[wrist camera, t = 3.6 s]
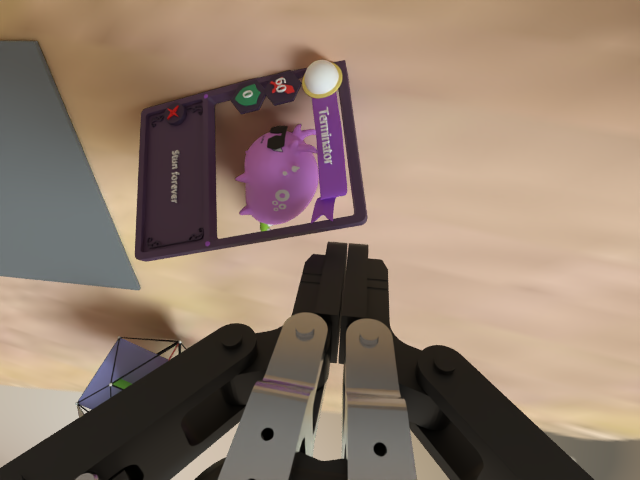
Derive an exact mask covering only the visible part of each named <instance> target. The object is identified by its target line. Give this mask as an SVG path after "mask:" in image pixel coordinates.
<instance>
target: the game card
mask: <svg viewBox="0 0 640 480" xmlns="http://www.w3.org/2000/svg"><path fill="white" fill-rule="evenodd" d="M301 77H303V79H302V83H301V81H300V80H299V78H301ZM301 84H302V87H303V90H304V92H305V93H306V94H307V95H308V96H310V97H312V104H313V113H314V121H315V129H316V130H314V129H309V130H303V131H302V130H301V124H299V125H297V126H296V127H295V129H294V131H293V132H292V133H291V132H288V131H287V128H288V127H287V126H276V127H272V128H271V130H270V132H268V133H266V134H264V135H262V136H261V137H259V138H258V139H257V140H256V141H255V142H254V143H253V144H252V145H251V146H250V148H249V149H248V150H247V151H245V153H246V157H245V173H243V174H242V175H240V176H238V177H236V178H235V180H236V181H240V182H244V183H246V204H247V205H246V206H245V207H244V208H243V209H242V210H241V211H240V212H239V214H240V215H252V216H253V217H254V218H255V219H256V220H258V221H259V222H260V230H261V232H256V233H251V234H245V235H239V236H233V237H228V238H222V239H218V238H217V210H216V157H215V105H216V104H217V103H221V102H225V101H229V100H231V102H232V103H233V105H234V106H235V107H236V109H237V110H238V111H239V112H240V114H245V113H249V112H253V111H256V110H259V109H260V107H261V105H262V103H263V101H264V99H265V97H266V96H267V97H268V99H269V100H270V101H271V102H272V103H273V105H274V106H276V105H280V104H284V103H288V102H292V101H294V99H295V97H296V95H297V93H298V91H299V89H300V86H301ZM337 89H339V97H340V105H341V113H342V120H343V128H344V136H345V144H346V152H347V159H348V167H349V175H350V183H351V191H352V199H353V206H354V215H352V216H347V217H341V218H336V219H333V210H334V202H335V199H336V197H338V196H344V195H346V193H347V181H346V171H345V159H344V149H343V137H342V128H341V121H340V115H339V109H338V103H337V95H336V91H337ZM309 135H316V138H317V150H316V149H315V148H314V147H313V146H312V145H308V144H306V143H305V142H304V140H303V139H304V138H305V137H307V136H309ZM312 152H313V153H317V154H318V167H317V163H316V160H315V158H314V155H313V154H312ZM318 169H319V173H318ZM318 179H319V183H320V193H321V197H320V198H318V199H317V201H316V203H315V207H314V211H313V215H312V220H311V223H307V224H302V225H296V226H290V227H285V228H279V229H273V230H271V229H269V227H270V226H273V225H275V224H281V223H285V222H287V221H289V220H291V219H293V218H295V217H296V216H298V215H299V214H300V213H301V212H302V211H303V210H304V209H305V208H306V207H307V206H308V204H309V203H310V201H311V200H312V198H313V196H314V194H315V192H316V189H317V185H318ZM321 215H325V216H326V217H327V218H328V219H329V220H324V221H319V222H314V221H316V220H317V219H318V218H319V217H320V216H321ZM366 221H367V210H366V203H365V196H364V188H363V181H362V174H361V167H360V159H359V152H358V145H357V138H356V130H355V123H354V116H353V109H352V101H351V94H350V87H349V80H348V73H347V68H346V63H345V60H343V61H338V62H334V63H332V62H329V61H326V60H317V61H314V62H313V63H311V64H310V65H309V67H308V68H304V69H299V70H294V71H291V70H289V71H285V72H282V73H278V74H274V75H269V76H264V77H259V78H255V79H250V80H247V81H243V82H239V83H236V84H232V85H229V86H225V87H221V88H218V89H214V90H210V91H207V92H203V93H200V94H196V95H192V96H189V97H185V98H182V99H178V100H174V101H171V102H167V103H164V104H160V105H156V106H153V107H149V108H146V109H144V110H143V111H142V113H141V127H140V149H139V172H138V194H137V216H136V239H135V257H136V259H138V260H142V261H152V260H158V259H164V258H170V257H176V256H182V255H188V254H194V253H200V252H206V251H212V250H218V249H223V248H229V247H235V246H241V245H247V244H253V243H259V242H265V241H271V240H277V239H283V238H288V237H294V236H300V235H306V234H312V233H318V232H324V231H330V230H336V229H342V228H348V227H354V226H359V225H363V224H364V223H365V222H366Z"/></svg>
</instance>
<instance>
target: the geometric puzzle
mask: <svg viewBox="0 0 640 480" xmlns="http://www.w3.org/2000/svg"><path fill="white" fill-rule="evenodd" d="M122 338H125V337H120V336H118V340H117V342H116V343H115V345H114V346H113V348H112V349H111V351H110V352H109V354H108V356H107V357H106V359H105V360H104V362H103V363H102V365H101V366H100V368H99V369H98V371H97V373H96V374H95V376H94V377H93V379H92V380H91V382H90V383H89V385H88V387H87V388H86V390H85V391H84V393H83V394H82V396H81V397H80V399H79V401H78V402H76V403H75V404H76V405H77V408H78V414H79V418H80V417H81V416H83V415H84V413H82V411H81V410H80V407H81V408H83V407H82V406H84V407H87V408H89V409H94V408H95V407H97V406H98V405H100V404H102V403H103V402H105V401H106V400H108V399H109V398H111V397H112V396H114V395H116V394H117V393H119V392H120V391H122V390H123V389H125V388H127V387H128V386H130V385H131V384H133V383H134V382H136V381H138V380H139V379H141V378H142V377H144V376H145V375H147V374H149V373H150V372H152V371H153V370H155V369H156V368H158V367H160V366H161V365H163V364H164V363H166V362H167V361H169V360H170V358H171V357H172V355H173V353H174V351H175V350H176V348H177V346H178V349H179V354H180V353H181V345H182V343H181V341H180V340H178V341H177V342H176V341H173V340H157V339H142V340H155V341H168V342H176V343H174V344H172V345H171V346H169V347H167V348H166V349H164V350H162V351H160V352H159V353H157V354H155V353H153V352H151V351H148V350H146V349H144V348H142V347H140V346H138V345H135V344H133V343H131V342H129V341H127V340H124V339H122ZM129 339H141V338H129ZM175 345H177V346H176V347H175V349H174V351H173V353H172V354H171V356H170V358H169V360H168V359H166V358H164V357H161V356H159V355H161V354H162V353H164V352H166V351H167V350H169V349H171V348H172V347H174V346H175ZM182 346H183V345H182ZM183 347H184V346H183ZM184 348H185V347H184ZM185 349H186V348H185ZM81 405H82V406H81ZM79 406H80V407H79ZM83 409H84V410H85V411H87V410H86V409H85V408H83ZM87 412H89V411H87Z"/></svg>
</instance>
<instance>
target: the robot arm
mask: <svg viewBox="0 0 640 480" xmlns="http://www.w3.org/2000/svg"><path fill="white" fill-rule="evenodd" d="M346 260H347V266H346ZM340 326H341V327H340ZM339 336H340V346H339V364H344V370H343V385H342V459H337V460H330V461H320V460H317V459H315V458H313V449H314V441H315V436H316V431H317V426H318V422H319V417H320V412H321V408H322V403H323V398H324V393H325V389H326V382H327V379H328V375H329V368H330V363H337V354H338V345H339ZM239 422H240V423H239ZM237 423H239V426H238V428H237V431H236V434H235V436H234V439H233V441H232V444H231V446H230V449H229V452H228V454H227V457H226V458H223V459H221V460H220V461H218V462H216V463H214V464H213V465H211V466H210V467H209V468H207V469H206V470H205V471H203V472H202V473H201V474H200V475H199V476H198V477H197V478H196V479H195V480H417V476H416V469H415V462H414V455H413V448H412V441H411V434H410V429H411V431H412V432H413V433H414V435H415V436H416V437H417V438H418V439H419V441H420V442H421V443H422V445H423V446H424V447H425V449H426V450H427V451H428V452H429V454H430V455H431V456H432V457H433V459H434V460H435V461H436V463H437V464H438V465H439V466H440V468H441V469H442V470H443V472H444V473H445V474H446V475H447V477H448V478H449V479H450V480H594V479H593V478H592V477H591V476H590V475H589V474H588V473H587V472H585V471H584V470H583V469H582V468H581V467H580V466H579V465H578V464H577V463H576V462H575V461H574V460H573V459H572V458H571V457H569V456H568V455H567V454H566V453H565V452H564V451H563V450H562V449H561V448H560V447H559V446H558V445H557V444H556V443H555V442H553V441H552V440H551V439H550V438H549V437H548V436H547V435H546V434H545V433H544V432H543V431H542V430H541V429H540V428H539V427H538V426H536V425H535V424H534V423H533V422H532V421H531V420H530V419H529V418H528V417H527V416H526V415H525V414H524V413H523V412H522V411H520V410H519V409H518V408H517V407H516V406H515V405H514V404H513V403H512V402H511V401H510V400H509V399H508V398H507V397H506V396H504V395H503V394H502V393H501V392H500V391H499V390H498V389H497V388H496V387H495V386H494V385H493V384H492V383H491V382H490V381H488V380H487V379H486V378H485V377H484V376H483V375H482V374H481V373H480V372H479V371H478V370H477V369H476V368H475V367H474V366H472V365H471V364H470V363H469V362H468V361H467V360H466V359H465V358H464V357H463V356H462V355H461V354H459V353H458V352H457V351H455V350H454V349H451V348H449V347H446V346H442V345H433V346H429V347H427V348H425V349H424V350H423V351H422V350H419V349H417V348H414V347H411V346H409V345H407V344H405V343H403V342H402V341H400V340H399V339H398V338H397V337H396V336H395V335H394V333H393V332H392V330H391V328H390V322H389V291H388V269H387V267H386V266H385V264H384V262H383V261H382V260H380V259H368V245H365V244H352V243H349V248H348V257H347V243H338V242H328V244H327V249H326V255H318V254H313V255H312V256H311V257H310V258H309V259H308V260H307V261H306V262H305V265H304V269H303V274H302V277H301V281H300V285H299V289H298V293H297V297H296V301H295V305H294V309H293V313H292V316H291V317H290V318H288V319H287V320H286V321H285V323H284V325H283V326H281V327H280V328H278V329H275V330H272V331H267V332H261V333H254V331H253V330H252V329H251V328H250V327H249V326H247V325H244V324H239V323H234V324H229V325H225V326H223V327H221V328H219V329H218V330H216V331H215V332H213V333H211V334H210V335H208V336H207V337H205V338H204V339H202V340H200V341H199V342H197V343H196V344H194V345H193V346H191V347H189V348H188V349H186V350H185V351H183V352H182V353H180V354H178V355H177V356H175V357H174V358H172V359H171V360H169V361H167V362H166V363H164V364H163V365H161V366H160V367H158V368H156V369H155V370H153V371H152V372H150V373H149V374H147V375H145V376H144V377H142V378H141V379H139V380H138V381H136V382H134V383H133V384H131V385H130V386H128V387H127V388H125V389H123V390H122V391H120V392H119V393H117V394H116V395H114V396H112V397H111V398H109V399H108V400H106V401H105V402H103V403H102V404H100V405H98V406H97V407H95V408H94V409H92V410H91V411H89V412H87V413H86V414H84V415H83V416H81V417H80V418H78V419H76V420H75V421H73V422H72V423H70V424H69V425H67V426H65V427H64V428H62V429H61V430H59V431H58V432H56V433H54V434H53V435H51V436H50V437H48V438H47V439H45V440H43V441H42V442H40V443H39V444H37V445H36V446H34V447H32V448H31V449H29V450H28V451H26V452H25V453H23V454H21V455H20V456H18V457H17V458H15V459H14V460H12V461H10V462H9V463H7V464H6V465H4V466H3V467H1V468H0V480H170V479H171V478H173V477H174V476H175V475H176V474H177V473H179V472H180V471H181V470H182V469H183V468H184V467H186V466H187V465H188V464H189V463H190V462H192V461H193V460H194V459H195V458H197V457H198V456H199V455H200V454H201V453H203V452H204V451H205V450H206V449H207V448H209V447H210V446H211V445H212V444H213V443H215V442H216V441H217V440H218V439H219V438H221V437H222V436H223V435H224V434H225V433H227V432H228V431H229V430H230V429H231V428H233V427H234V426H235V425H236V424H237Z"/></svg>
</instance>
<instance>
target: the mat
mask: <svg viewBox="0 0 640 480" xmlns="http://www.w3.org/2000/svg"><path fill="white" fill-rule="evenodd" d="M0 276H5V277H15V278H25V279H34V280H44V281H54V282H63V283H73V284H82V285H92V286H102V287H111V288H121V289H131V290H140V285H139V283H138V281H137V278H136V276H135V273H134V271H133V269H132V266H131V264H130V261H129V259H128V257H127V254H126V252H125V250H124V247H123V245H122V242H121V240H120V238H119V235H118V233H117V230H116V228H115V226H114V223H113V221H112V218H111V216H110V214H109V211H108V209H107V207H106V204H105V202H104V199H103V197H102V195H101V192H100V190H99V187H98V185H97V183H96V180H95V178H94V176H93V173H92V171H91V168H90V166H89V164H88V161H87V159H86V156H85V154H84V152H83V149H82V147H81V144H80V142H79V140H78V137H77V135H76V133H75V130H74V128H73V125H72V123H71V121H70V118H69V116H68V113H67V111H66V109H65V106H64V104H63V102H62V99H61V97H60V94H59V92H58V90H57V87H56V85H55V82H54V80H53V78H52V75H51V73H50V70H49V68H48V66H47V63H46V61H45V59H44V56H43V54H42V51H41V49H40V47H39V44H38V42H37V41H0Z"/></svg>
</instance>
